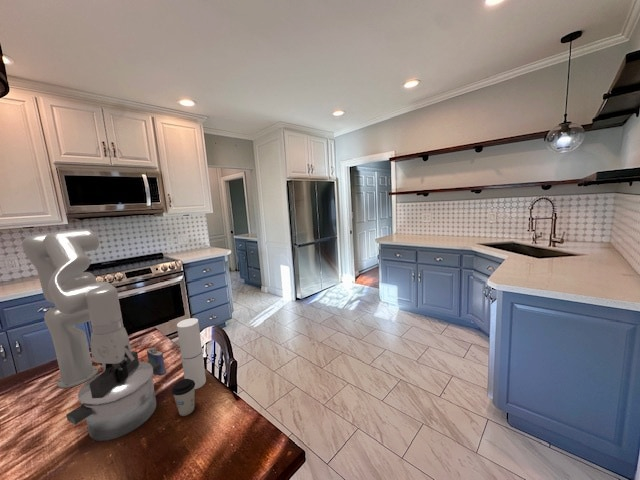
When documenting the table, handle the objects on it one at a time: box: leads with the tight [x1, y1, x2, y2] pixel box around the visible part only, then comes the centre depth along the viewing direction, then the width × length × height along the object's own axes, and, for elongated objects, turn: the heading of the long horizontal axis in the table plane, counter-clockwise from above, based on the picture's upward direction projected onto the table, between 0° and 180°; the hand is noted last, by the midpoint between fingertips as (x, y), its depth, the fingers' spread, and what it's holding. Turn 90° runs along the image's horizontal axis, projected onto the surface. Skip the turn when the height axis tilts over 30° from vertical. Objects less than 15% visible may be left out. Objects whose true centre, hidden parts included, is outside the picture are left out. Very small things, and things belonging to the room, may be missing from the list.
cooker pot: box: [65, 362, 161, 442], centre depth 87 cm, size 18×26×12 cm
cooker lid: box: [77, 351, 154, 406], centre depth 85 cm, size 19×19×6 cm
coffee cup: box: [171, 378, 196, 417], centre depth 88 cm, size 7×7×10 cm
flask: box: [146, 346, 166, 376], centre depth 109 cm, size 9×3×11 cm, turn 61°
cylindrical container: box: [176, 317, 207, 390], centre depth 100 cm, size 7×7×25 cm
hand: (117, 378), depth 85 cm, fingers closed on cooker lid, 3 cm apart
